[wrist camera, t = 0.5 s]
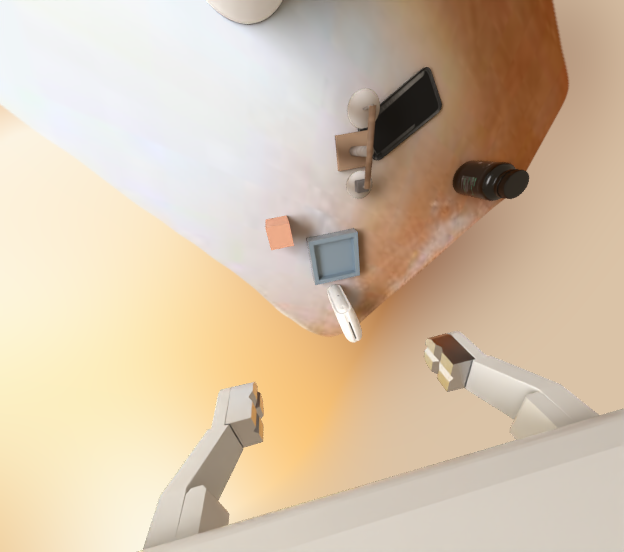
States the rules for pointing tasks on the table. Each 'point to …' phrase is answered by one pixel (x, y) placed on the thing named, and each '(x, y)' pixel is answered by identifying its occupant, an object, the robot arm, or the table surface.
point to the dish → (334, 256)
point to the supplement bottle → (490, 180)
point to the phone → (405, 112)
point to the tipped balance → (359, 142)
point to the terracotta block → (279, 232)
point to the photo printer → (344, 313)
